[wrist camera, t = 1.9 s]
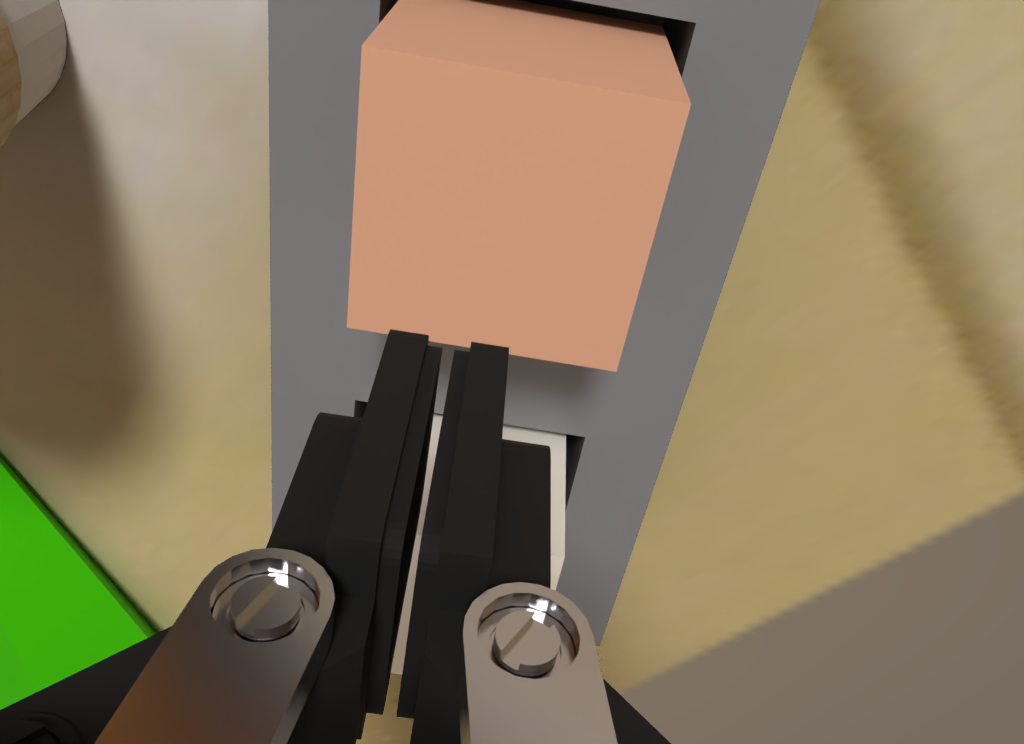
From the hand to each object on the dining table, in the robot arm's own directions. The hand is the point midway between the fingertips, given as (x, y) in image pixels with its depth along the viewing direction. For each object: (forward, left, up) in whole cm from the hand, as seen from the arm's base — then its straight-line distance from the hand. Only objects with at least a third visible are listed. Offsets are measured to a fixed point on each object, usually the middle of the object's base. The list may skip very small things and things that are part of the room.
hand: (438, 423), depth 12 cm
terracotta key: (0, 0, -12) cm, 12 cm away
